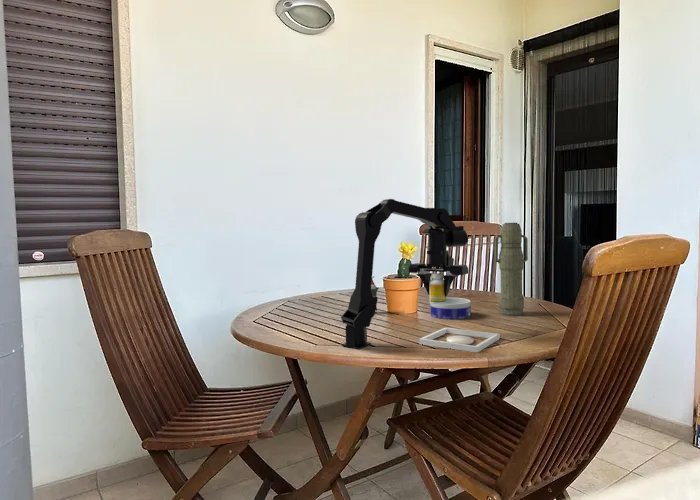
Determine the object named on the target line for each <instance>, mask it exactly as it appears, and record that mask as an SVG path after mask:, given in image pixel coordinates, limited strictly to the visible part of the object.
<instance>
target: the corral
mask: <svg viewBox="0 0 700 500" xmlns="http://www.w3.org/2000/svg"><path fill="white" fill-rule="evenodd" d="M445 333H446V334H453V335H458V336H468V337H476V338H477V337H478V338H484V339H485V340H483V341H481V342H479V343H477V344H476V345H471V344H467V345H465V344H458V343H451V342H447V341H441V340H435V339H436V338H438V337H441V336H444V335H445ZM500 335H501V334H500V333H496V332H488V331H478V330H468V329H461V328H454V327H453V328H452V327H443V328H440V329H439V330H437V331H434V332H431V333H429V334H427V335H425V336H423V337H420V338H419V339H418V344H419V345H422V344H423V345H424V346H430V347H437V348H444V349H445V348H446V349H450V348H451V349H452V350H456V351H457V350H458V351H464V352H472V353H479V352H481V351H482V350H484V349H485V348H487V347H490V346H491V345H492V344H494V343H495V342H497V341H498V340H499V339H500V338H501V337H500ZM423 345H422V346H423ZM451 349H450V350H451Z"/></svg>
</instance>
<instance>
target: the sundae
mask: <svg viewBox="0 0 700 500" xmlns="http://www.w3.org/2000/svg"><path fill="white" fill-rule="evenodd" d="M374 278H375V276H374V275H372V285H371V291H372V294H373V296H376V297H377V293H378V290H380V288H379V287H378V286H377V285H376V283H375V282H374V280H373V279H374ZM377 313H378V311H375V314H377Z"/></svg>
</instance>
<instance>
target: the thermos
mask: <svg viewBox="0 0 700 500" xmlns="http://www.w3.org/2000/svg"><path fill="white" fill-rule="evenodd" d="M522 238H523V247H522ZM499 239H500V252H499V250H498V249H499V248H498V247H499V245H498V240H499ZM528 241H529V240H528V238H527V237H526V235H525V234H522V227H521V225H520V223H518V222H504V223H503V224H502V225H501V229H500V234H497V235H496V236H495V237H494V262H496V263H497V264H498V265H499V267H498V268H499V272H500V293H499V297H498V298H499V299H498V300H499V314H500V315H501V316H505V317H507V316H508V317H520V316H523V315H524V308H525V297H524V294H523V271H524V264H525V263H526V262H527V261H528V260H529V259H528V258H529V257H528V254H529V251H528V249H529V248H528ZM522 248H523V249H522ZM523 251H524V252H523Z"/></svg>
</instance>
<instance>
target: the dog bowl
mask: <svg viewBox="0 0 700 500" xmlns="http://www.w3.org/2000/svg"><path fill="white" fill-rule="evenodd" d="M429 308H430V309H429V310H430V311H429V312H430V317H431V318H435V319H438V318H439V320H448V319H449V320H452V321H453V320H465V319H466V320H467V319H469V318H470V317H471V312H472V309H471V308H472V301H471V300H470V299H467V298H461V297H446V303H445V304H431V303H430V302H429Z"/></svg>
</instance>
